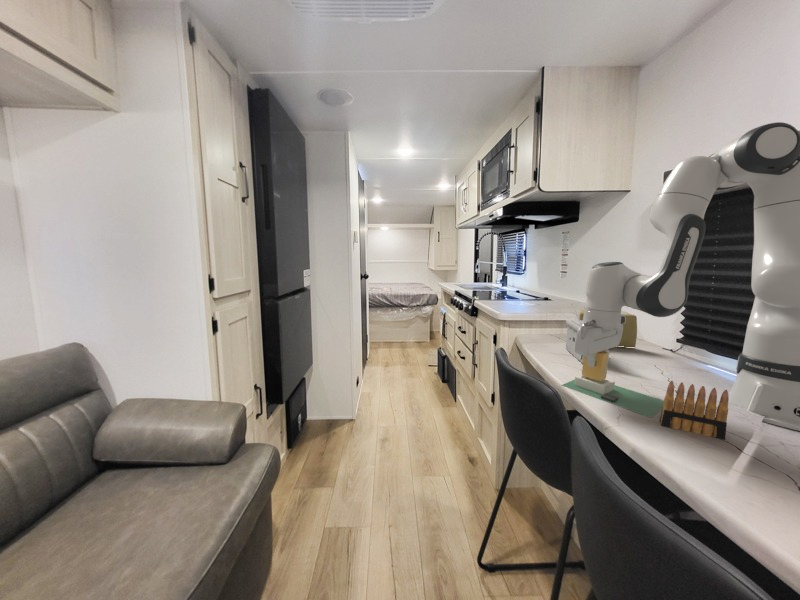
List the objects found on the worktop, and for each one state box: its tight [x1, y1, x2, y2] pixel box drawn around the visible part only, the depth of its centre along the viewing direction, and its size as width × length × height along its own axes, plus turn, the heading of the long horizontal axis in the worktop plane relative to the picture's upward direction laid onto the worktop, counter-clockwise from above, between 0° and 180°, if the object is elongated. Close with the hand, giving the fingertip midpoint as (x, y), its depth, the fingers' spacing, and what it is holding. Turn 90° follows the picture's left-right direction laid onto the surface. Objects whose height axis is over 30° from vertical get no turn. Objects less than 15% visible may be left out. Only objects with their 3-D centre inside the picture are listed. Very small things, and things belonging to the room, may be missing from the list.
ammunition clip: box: [659, 380, 729, 441], centre depth 68 cm, size 11×2×12 cm, turn 59°
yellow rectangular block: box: [581, 351, 610, 381], centre depth 90 cm, size 6×4×8 cm, turn 33°
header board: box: [561, 375, 664, 419], centre depth 87 cm, size 22×14×4 cm, turn 33°
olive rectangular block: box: [578, 309, 638, 348], centre depth 138 cm, size 22×10×15 cm, turn 60°
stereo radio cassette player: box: [565, 303, 584, 364], centre depth 121 cm, size 21×8×20 cm, turn 168°
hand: (595, 364), depth 90 cm, fingers closed on yellow rectangular block, 3 cm apart
